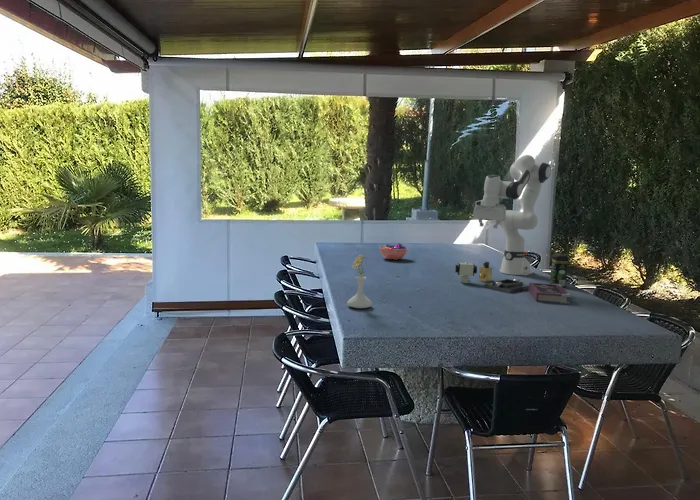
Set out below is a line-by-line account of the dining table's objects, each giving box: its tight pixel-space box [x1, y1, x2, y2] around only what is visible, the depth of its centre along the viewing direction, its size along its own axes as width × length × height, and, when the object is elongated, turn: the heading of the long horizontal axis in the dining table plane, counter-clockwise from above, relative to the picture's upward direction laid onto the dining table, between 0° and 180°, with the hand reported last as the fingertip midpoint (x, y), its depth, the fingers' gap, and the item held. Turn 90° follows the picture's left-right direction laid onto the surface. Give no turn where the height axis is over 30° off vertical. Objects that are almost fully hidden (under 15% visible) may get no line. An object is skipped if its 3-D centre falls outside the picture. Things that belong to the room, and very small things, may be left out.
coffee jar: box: [549, 252, 569, 288], centre depth 327 cm, size 10×8×19 cm
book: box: [528, 282, 572, 304], centre depth 299 cm, size 25×16×5 cm, turn 171°
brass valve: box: [478, 261, 493, 283], centre depth 333 cm, size 9×5×11 cm, turn 131°
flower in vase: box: [346, 253, 373, 309], centre depth 260 cm, size 13×11×25 cm
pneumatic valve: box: [454, 261, 478, 284], centre depth 326 cm, size 6×12×12 cm, turn 87°
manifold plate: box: [483, 277, 529, 294], centre depth 316 cm, size 20×16×4 cm
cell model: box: [379, 242, 410, 261], centre depth 392 cm, size 17×20×11 cm
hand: (488, 227), depth 331 cm, fingers open, 8 cm apart
